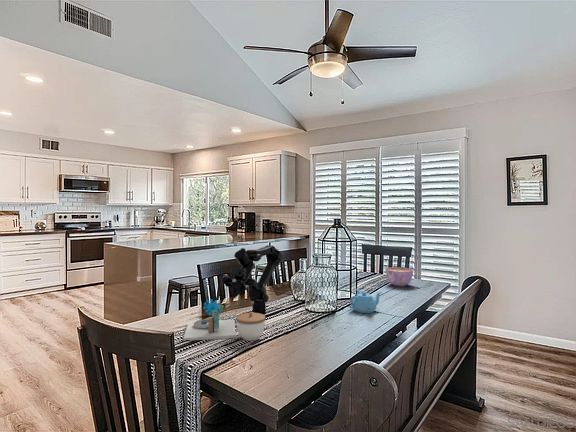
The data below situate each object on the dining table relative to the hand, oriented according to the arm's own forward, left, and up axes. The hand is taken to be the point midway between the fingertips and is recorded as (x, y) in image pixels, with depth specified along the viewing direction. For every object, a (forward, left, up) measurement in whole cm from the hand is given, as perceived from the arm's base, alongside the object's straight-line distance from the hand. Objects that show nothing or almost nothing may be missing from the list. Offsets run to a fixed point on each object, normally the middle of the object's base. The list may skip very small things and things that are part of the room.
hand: (233, 297), depth 172 cm
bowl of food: (-120, -71, -14) cm, 140 cm away
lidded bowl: (-7, +17, -14) cm, 23 cm away
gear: (+10, -21, -14) cm, 27 cm away
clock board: (+10, +5, -13) cm, 18 cm away
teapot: (-72, -14, -14) cm, 75 cm away
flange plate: (+12, +4, -12) cm, 17 cm away
